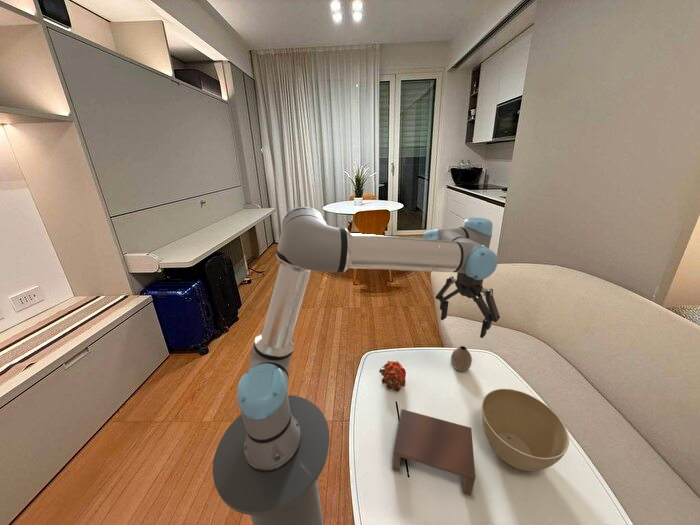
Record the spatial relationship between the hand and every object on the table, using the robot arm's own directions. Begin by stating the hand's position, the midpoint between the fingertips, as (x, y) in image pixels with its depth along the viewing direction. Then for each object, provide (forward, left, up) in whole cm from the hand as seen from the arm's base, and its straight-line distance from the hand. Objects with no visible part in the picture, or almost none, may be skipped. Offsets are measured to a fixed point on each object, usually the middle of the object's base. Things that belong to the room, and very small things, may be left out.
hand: (462, 326), depth 89 cm
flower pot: (+13, -26, -18) cm, 35 cm away
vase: (+1, +1, -18) cm, 19 cm away
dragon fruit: (-21, -13, -18) cm, 30 cm away
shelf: (-7, -34, -18) cm, 39 cm away
